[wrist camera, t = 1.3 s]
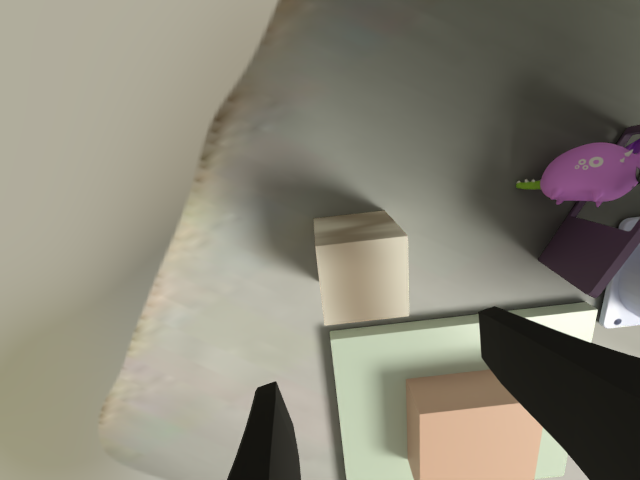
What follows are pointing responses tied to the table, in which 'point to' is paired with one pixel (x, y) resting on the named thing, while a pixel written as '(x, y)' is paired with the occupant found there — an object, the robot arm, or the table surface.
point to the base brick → (469, 429)
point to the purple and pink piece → (596, 185)
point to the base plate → (413, 362)
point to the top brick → (362, 267)
